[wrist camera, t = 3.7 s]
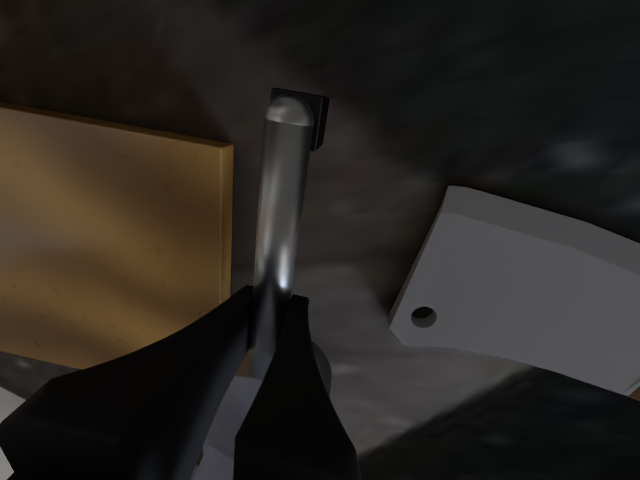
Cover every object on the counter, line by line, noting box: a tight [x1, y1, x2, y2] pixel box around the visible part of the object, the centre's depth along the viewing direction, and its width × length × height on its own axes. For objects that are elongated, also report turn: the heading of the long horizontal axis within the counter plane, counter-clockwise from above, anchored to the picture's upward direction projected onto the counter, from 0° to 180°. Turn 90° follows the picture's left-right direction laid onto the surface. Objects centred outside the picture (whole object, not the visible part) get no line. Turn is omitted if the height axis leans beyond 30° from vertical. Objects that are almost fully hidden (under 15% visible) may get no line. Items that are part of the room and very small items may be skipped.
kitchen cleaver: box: [388, 186, 640, 401], centre depth 16 cm, size 24×1×10 cm
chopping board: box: [0, 101, 234, 370], centre depth 18 cm, size 18×20×2 cm
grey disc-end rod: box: [205, 88, 332, 459], centre depth 12 cm, size 17×6×3 cm, turn 171°
